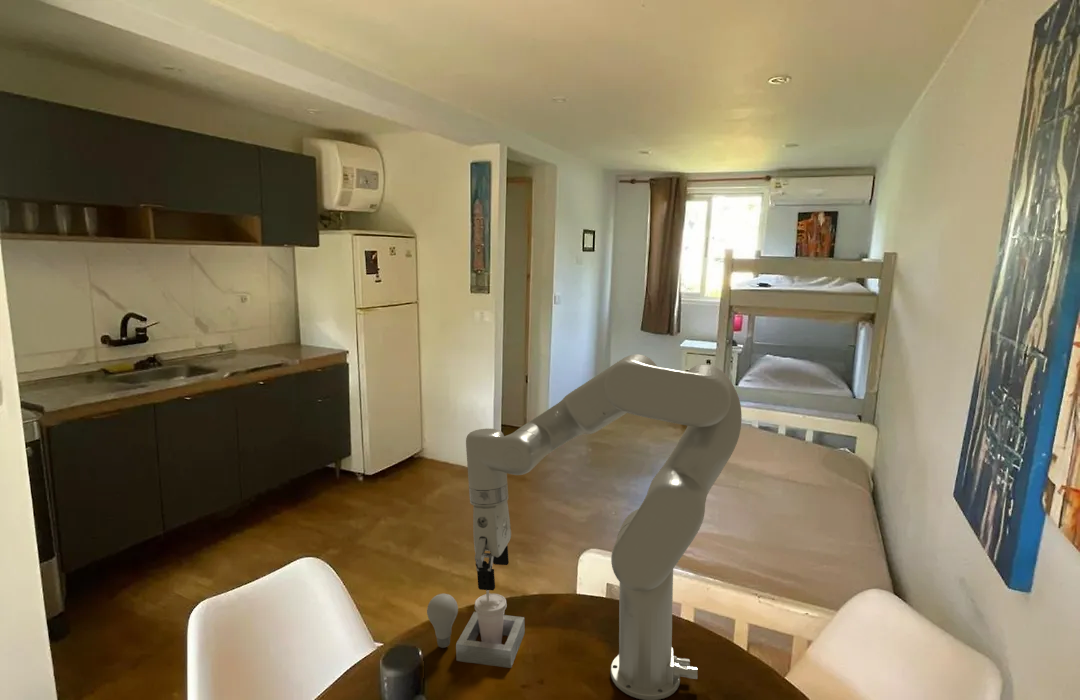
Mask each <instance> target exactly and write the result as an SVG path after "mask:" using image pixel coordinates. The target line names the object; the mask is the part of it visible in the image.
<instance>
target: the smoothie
mask: <svg viewBox="0 0 1080 700" xmlns="http://www.w3.org/2000/svg"><path fill="white" fill-rule="evenodd" d="M485 592H486V594H483V595H481V596H479V597H478V598H477V599H475V601H474V610H475V612H477V616H478V622H479V628H480V632H479V634H480V639H481V642H487V643H495V644H503V643H502V641H503V635H502V632H503V622H504V615H505V612H506V611H505V610H506V609H507V605H508V604H507V599H506V597H504V595H501V594H499V593H490V590H485Z"/></svg>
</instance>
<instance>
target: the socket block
mask: <svg viewBox="0 0 1080 700" xmlns="http://www.w3.org/2000/svg"><path fill="white" fill-rule="evenodd" d="M525 628H526V627H525V616H515V615H507V614H504V622H503V632H502V636H504V637H505V636H507V639H506V641H505V643H504V644H503V643H501V644H495V643H487V642H482V641H478V640H477V638H478V636H479V634H480V628H479V622H478V616H477V612H476V611H473V613H472V615H471V617H470V619H469V620H468V622H467V624H466V625H465V627H464V629H463V631H462V633H461V634H460V636H459V638H458V639H457V641H456V644H455V655H456V656H455V657H456V661H457V662H461V663H462V662H463V663H470V664H478V665H485V666H493V667H499V668H508V669H511V668H513V664H514V661H515V659H516V656H517V654H518V651H519V649H520V646H521V643H522V641H523V638H524V636H525V633H526V632H525V631H526V629H525Z"/></svg>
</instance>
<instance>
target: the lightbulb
mask: <svg viewBox="0 0 1080 700" xmlns="http://www.w3.org/2000/svg"><path fill="white" fill-rule="evenodd" d="M458 613H459V606H458V602H457V600H456V599H455V598H454V596H452V595H451V594H449V593H438V594H437V595H434V596H433V597H432V598H431V600H430V601H429V602H428V605H427V609H426V615H427V618H428V620H429V622H430V623H431V624H432V626H433V629H434V631H435V636H436V642H437V646H438V647H439V648H440V649H441V648H442V649H445V648H447V647H448V646H450V644H451V635H452V627H453V625H454V622H455V620H456V618H457V616H458Z"/></svg>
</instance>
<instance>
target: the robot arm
mask: <svg viewBox="0 0 1080 700" xmlns="http://www.w3.org/2000/svg"><path fill="white" fill-rule="evenodd" d="M626 414H631V415H635V416H638V417H641V418H646V419H653V420H657V421H662V422H666V423H672V424H677V425H682V426H686V429H685V430H684V432H683V434H682V435H681V437H680V439H679V441H678V442H677V444H676V445H675V447H674V449H673V450H672V452H671V454H670V455H669V457H668V458H667V459H666V461H665V462H664V464H663V465H662V467H661V468H660V469H659V470H658V472H657V473H656V474H655V476H654V477H653V478H652V480H651V482H650V484H649V487H648V490H647V493H646V495H645V498H644V499H643V501H642V503H641V505H640V506H639V508H638V509H635V510H633V511H632V512H631V513H630V514H628V515H627V516H626V518H625V519H624V521H623V522H622V524H621V526H620V529H619V531H618V533H617V537H616V540H615V543H614V545H613V547H612V551H611V557H610V562H611V568H612V570H613V574H614V575H615V578H616V579H617V580H618V582H619V593H618V596H619V597H618V598H619V605H618V606H619V611H618V612H619V615H618V617H619V619H618V622H619V623H618V626H619V630H618V631H619V632H618V643H619V644H618V645H619V646H618V654H617V656H615V657H614V659H613V660H612V662H611V665H610V677H611V680H612V682H613V683H614V685H615V687H617V688H618V689H619V690H620V691H621V692H623V693H624V694H626V695H628V696H630V697H632V698H636V699H639V700H661V699H663V700H664V699H665V698H668V697H670V696H672V695H673V694H674V693H676V691H677V690H678V688H679V686H680V682H681V677H682V678H687V679H694V680H698V667H697V666H692V665H691V661H690V658H686V657H683V658H682V657H677V655H674V648H673V647H672V646H673V645H672V641H673V637H672V636H673V595H674V594H673V593H674V589H673V587H674V569H675V567H676V566H677V564H678V563H679V562H680V560H681V559H682V557H683V555H684V554H685V552H686V551H687V550H688V548H690V545H691V544H692V542H693V541H694V540H695V538H696V536H697V534H698V533H699V531H700V529H701V527H702V524H703V521H704V518H705V512H706V501H707V497H708V494H709V493H710V490H711V489H712V487H713V486H714V484H715V483H716V481H717V480H718V478H719V477H720V475H721V473H722V471H723V470H724V468H725V466H726V465H727V464H728V461H730V458H731V456H732V455H733V453H734V451H735V448H736V447H737V444H738V442H739V438H740V434H741V429H742V417H743V416H742V407H741V401H740V398H739V395H738V393H737V390H736V388H735V386H734V384H733V382H732V381H731V379H730V378H729V376H728V375H727V374H726V373H725V372H724V371H723V370H722V369H720V368H719V367H717V366H715V365H711V364H699V365H695V366H692V367H691V368H690V369H688V370H687V371H685V370H678V369H671V368H665V367H662V366H661V367H660V366H657V363H656V362H654V361H653V360H652V359H651V358H650V357H648V356H646V355H644V354H639V353H638V354H635V353H634V354H630V355H628V356H625V357H623V358H622V359H620V360H619V361H617V362H615V363H613V364H612V365H610V366H609V367H608V368H606V369H605V370H603V371H602V372H600V373H598V374H597V375H595V376H594V377H592V378H591V379H589V380H588V381H586V382H585V383H583V384H581V385H579V386H578V387H577V388H575V389H574V390H572V391H570V393H568V394H566V395H565V396H564V397H563V398H562V399H561V400H560V401H559V402H557V403H556V404H554V405H553V406H552V407H550V408H548V409H547V410H545V411H544V412H543V413H541V414H539V415H538V416H536V417H534V418H533V419H531V420H530V421H529V422H527V423H525V424H524V425H522V426H520V427H519V428H518V429H516V430H515V431H513V432H512V433H509V434H507V435H504V433H503V432H502V431H501V430H500V429H496V428H479V429H475V430H473V431H471V432H469V433H468V434H467V436H466V437H465V449H466V450H465V451H466V463H467V466H466V467H467V477H468V478H467V479H468V480H467V481H468V493H469V503H470V505H472V506H473V510H472V511H473V517H472V518H473V519H472V521H473V523H472V525H473V527H472V528H473V529H472V530H473V544H474V545H473V546H474V547H473V548H474V553H475V554H474V561H475V567H476V569H475V570H476V573H477V587H478V588H477V589H478V590H481V591H486V590H489V591H494V590H495V589H496V580H495V579H496V578H495V577H496V576H495V568H493V565H495V566H507V565H509V546H508V543H510V540H511V537H512V530H511V520H510V519H511V518H510V512H509V511H510V510H509V505H508V500H509V488H508V487H509V486H508V474H509V475H512V476H513V475H514V476H522V475H526V474H528V473H530V472H531V471H532V470H533V469H534V468H535V467H536V466H537V465H538V464H539V463H540V462H541V461H542V460H543V459H544V458H545V457H546V456H547V455H549V454H550V453H552V452H553V451H555V450H556V449H559V447H562V446H563V445H565V444H566V443H568V442H570V441H572V440H573V439H574V438H578V437H579V436H583V435H592V434H595V433H597V432H599V431H600V430H602V429H604V428H605V427H607V426H608V425H610V424H612V423H613V422H615V421H617V420H618V419H620V418H621V417H623V416H624V415H626ZM485 558H488V562H487V561H486V560H485Z"/></svg>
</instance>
